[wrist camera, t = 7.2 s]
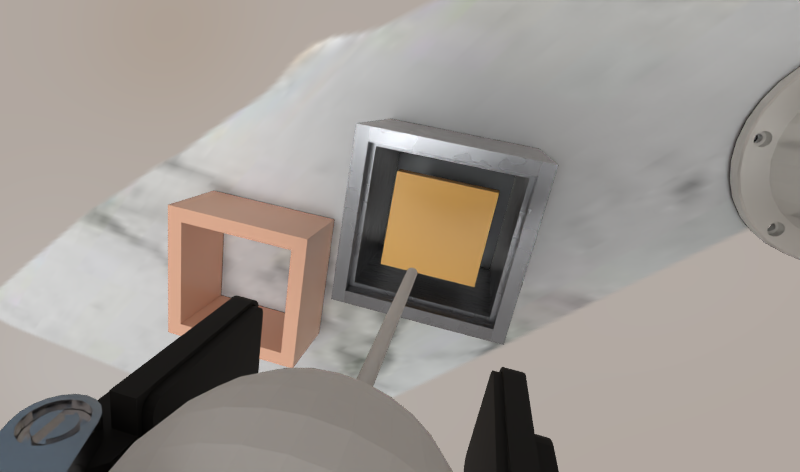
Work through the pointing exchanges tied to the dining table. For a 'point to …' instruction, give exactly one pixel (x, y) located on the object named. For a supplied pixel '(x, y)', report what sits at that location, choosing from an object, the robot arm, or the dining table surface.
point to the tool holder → (202, 266)
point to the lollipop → (294, 423)
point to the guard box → (430, 297)
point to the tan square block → (438, 226)
